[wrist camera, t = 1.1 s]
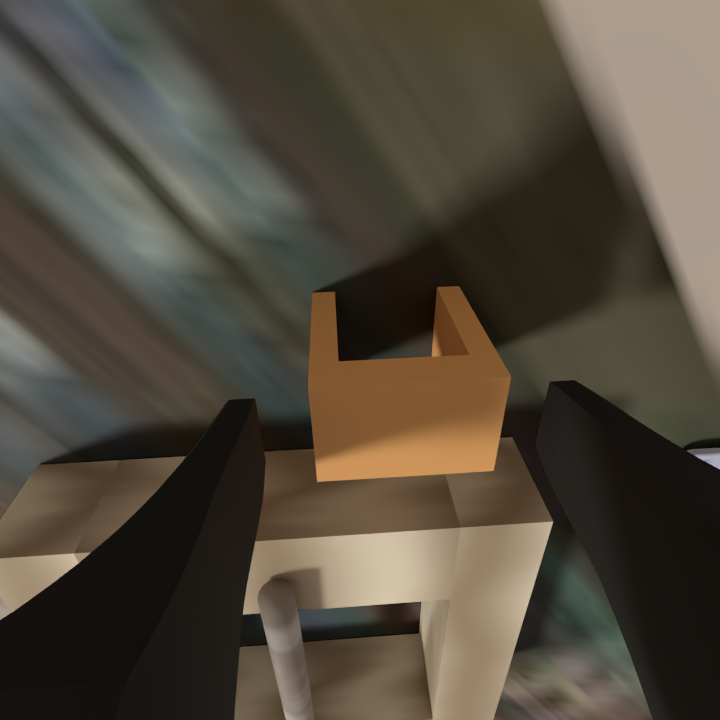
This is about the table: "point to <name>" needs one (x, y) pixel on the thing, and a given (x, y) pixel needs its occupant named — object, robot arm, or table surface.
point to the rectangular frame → (332, 576)
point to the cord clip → (407, 400)
